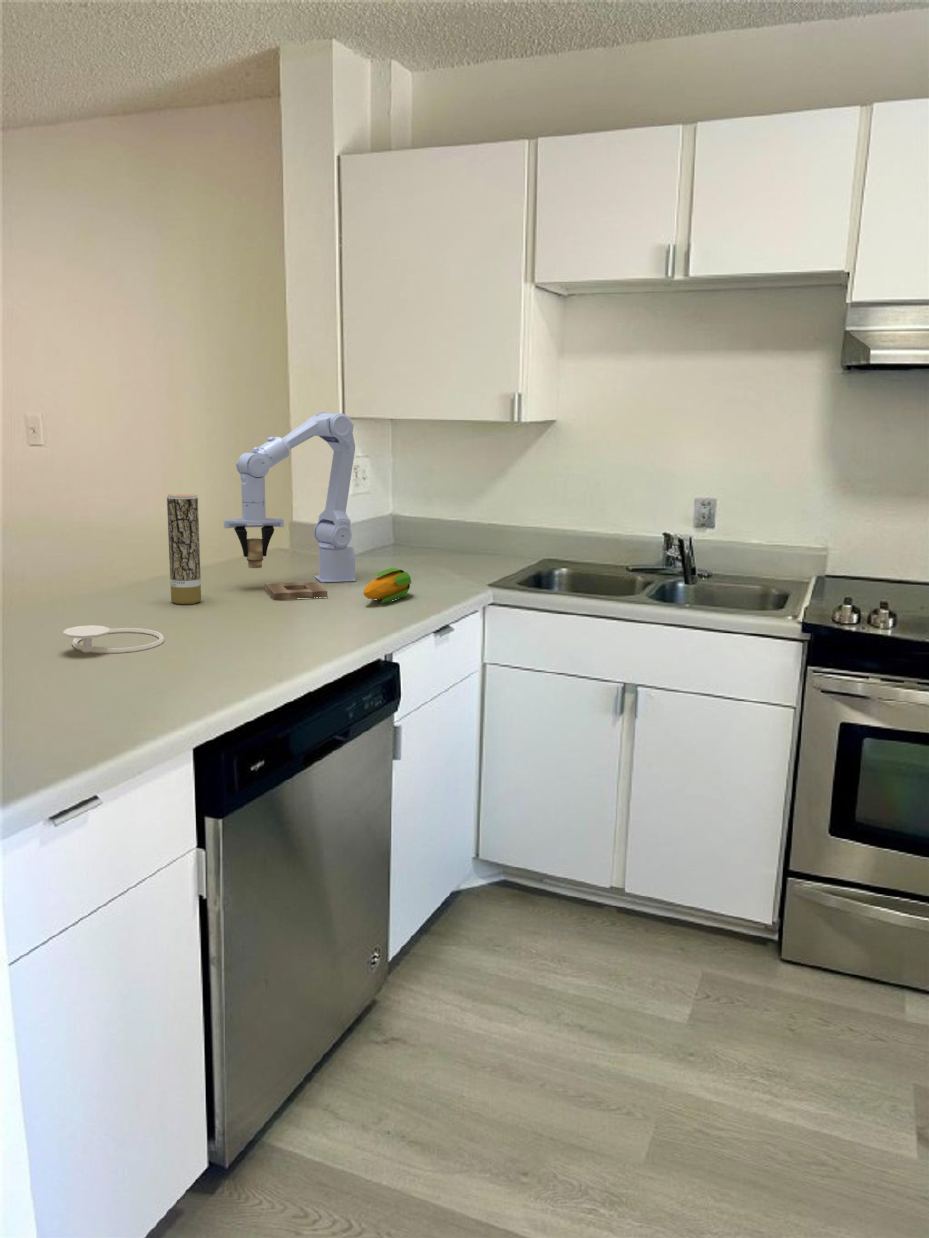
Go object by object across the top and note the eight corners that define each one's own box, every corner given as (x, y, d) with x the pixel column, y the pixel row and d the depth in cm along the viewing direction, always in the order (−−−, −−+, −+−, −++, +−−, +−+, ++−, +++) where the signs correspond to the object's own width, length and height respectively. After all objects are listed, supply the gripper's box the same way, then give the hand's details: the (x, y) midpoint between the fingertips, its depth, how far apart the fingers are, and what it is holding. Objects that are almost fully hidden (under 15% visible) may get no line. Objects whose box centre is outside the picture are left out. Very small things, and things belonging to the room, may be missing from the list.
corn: (417, 565, 230) (380, 577, 212) (419, 594, 232) (381, 609, 214) (391, 564, 233) (352, 576, 215) (393, 593, 235) (354, 608, 217)
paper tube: (192, 606, 211) (188, 497, 205) (165, 604, 212) (161, 495, 207) (206, 600, 218) (203, 494, 212) (180, 598, 219) (176, 493, 213)
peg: (261, 565, 234) (261, 538, 232) (264, 568, 230) (264, 540, 228) (245, 565, 232) (245, 538, 231) (248, 568, 229) (247, 540, 227)
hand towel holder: (182, 619, 182) (105, 641, 163) (183, 640, 183) (106, 664, 164) (116, 608, 188) (34, 629, 170) (117, 629, 189) (36, 651, 171)
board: (316, 588, 235) (316, 581, 235) (327, 598, 224) (327, 591, 224) (265, 591, 230) (265, 583, 230) (274, 600, 220) (274, 593, 219)
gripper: (279, 499, 234) (280, 552, 237) (221, 500, 228) (223, 554, 231) (285, 502, 227) (286, 556, 230) (225, 503, 222) (227, 559, 225)
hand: (254, 556), depth 231 cm, fingers closed on peg, 4 cm apart
